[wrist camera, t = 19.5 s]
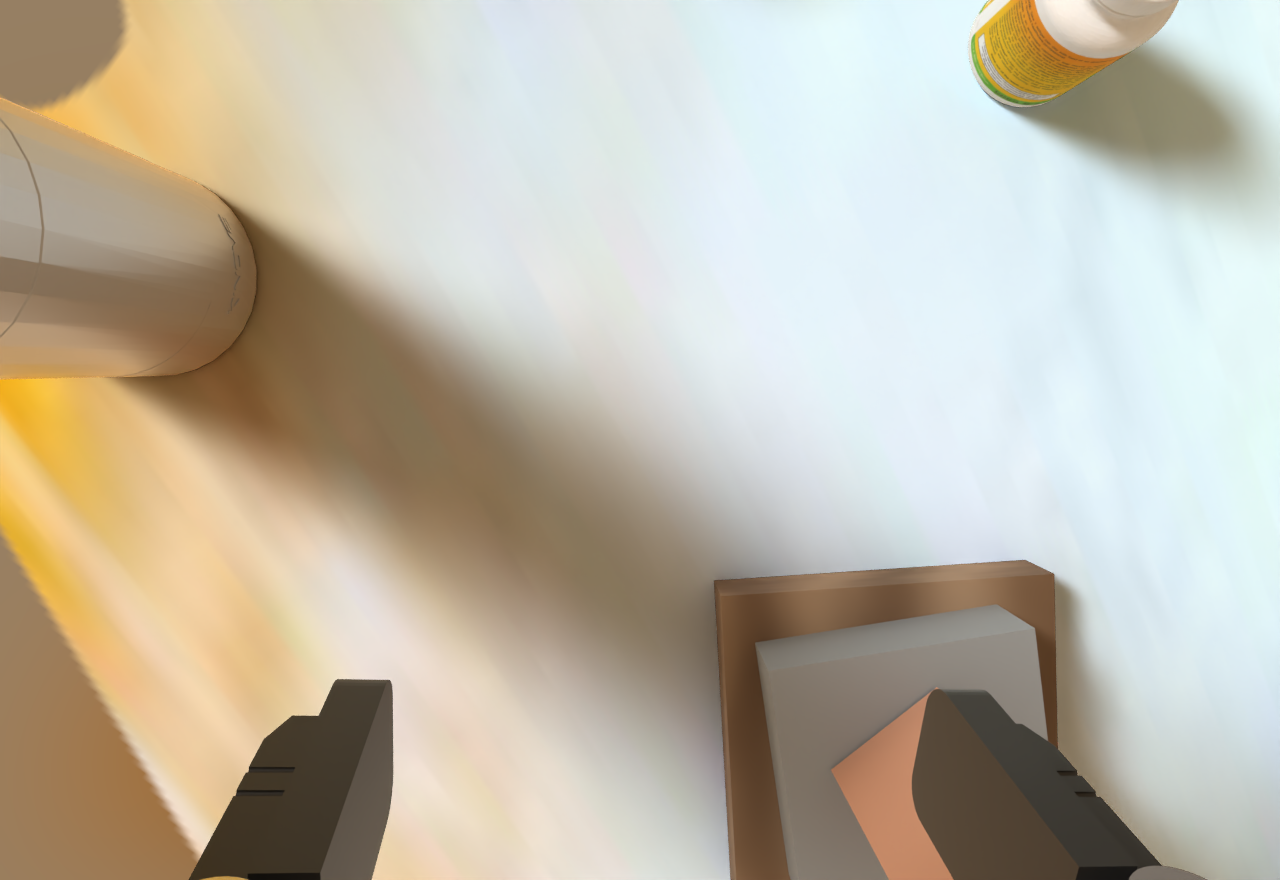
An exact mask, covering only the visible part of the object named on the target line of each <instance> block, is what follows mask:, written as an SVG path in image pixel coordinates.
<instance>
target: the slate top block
mask: <svg viewBox="0 0 1280 880" xmlns="http://www.w3.org/2000/svg"><path fill="white" fill-rule="evenodd" d="M755 647H756V654H757V661H758V667H759V674H760V681H761V688H762V695H763V701H764V708H765V715H766V722H767V729H768V736H769V742H770V749H771V756H772V763H773V770H774V776H775V783H776V790H777V797H778V804H779V811H780V817H781V824H782V831H783V838H784V845H785V851H786V858H787V865H788V872H789V876H790V879H791V880H889V879H888V877H887V875H886V873H885V871H884V869H883V867H882V866H881V864H880V862H879V860H878V858H877V856H876V854H875V852H874V850H873V849H872V847H871V845H870V843H869V841H868V839H867V837H866V835H865V833H864V832H863V830H862V828H861V826H860V824H859V822H858V820H857V818H856V816H855V815H854V813H853V811H852V809H851V807H850V805H849V803H848V801H847V799H846V798H845V796H844V794H843V792H842V790H841V788H840V786H839V784H838V782H837V780H836V779H835V777H834V775H833V773H832V771H831V769H833V768H834V767H835V766H836V765H838V764H839V763H840V762H842V761H843V760H844V759H845V758H847V757H848V756H849V755H851V754H852V753H853V752H854V751H856V750H857V749H858V748H859V747H861V746H862V745H863V744H865V743H866V742H867V741H868V740H870V739H871V738H872V737H874V736H875V735H876V734H877V733H879V732H880V731H881V730H883V729H884V728H885V727H886V726H888V725H889V724H890V723H892V722H893V721H894V720H895V719H897V718H898V717H899V716H900V715H902V714H903V713H904V712H906V711H907V710H908V709H909V708H911V707H912V706H913V705H915V704H916V703H917V702H918V701H920V700H921V699H922V698H924V697H925V696H926V695H927V694H929V693H930V692H931V691H933V690H934V689H935V688H936V687H937V688H938V689H982V690H985V691H987V692H988V693H990V694H991V695H992V697H993V698H994V699H995V700H996V701H997V702H998V704H999V705H1000V706H1001V707H1002V708H1003V709H1004V711H1005V712H1006V713H1007V714H1008V715H1009V716H1010V718H1011V719H1012V720H1013V721H1014V722H1015V723H1016V724H1023V725H1025V726H1026V727H1028V728H1029V729H1031V730H1032V731H1034V732H1035V733H1037V734H1038V735H1039V736H1041V737H1042V738H1044V739H1045V740H1047V741H1048V737H1047V728H1046V719H1045V711H1044V702H1043V693H1042V685H1041V676H1040V668H1039V659H1038V650H1037V642H1036V633H1035V628H1034V627H1032V626H1030V625H1029V624H1027V623H1026V622H1024V621H1022V620H1021V619H1019V618H1018V617H1016V616H1014V615H1013V614H1011V613H1010V612H1008V611H1007V610H1005V609H1003V608H1002V607H1000V606H999V605H997V604H995V605H989V606H983V607H976V608H970V609H964V610H958V611H951V612H945V613H939V614H932V615H926V616H920V617H913V618H907V619H901V620H894V621H888V622H882V623H875V624H869V625H863V626H857V627H850V628H844V629H838V630H831V631H825V632H819V633H812V634H806V635H800V636H794V637H787V638H781V639H775V640H768V641H762V642H756V643H755Z"/></svg>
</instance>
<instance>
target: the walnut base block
mask: <svg viewBox="0 0 1280 880" xmlns="http://www.w3.org/2000/svg"><path fill="white" fill-rule="evenodd" d="M714 590H715V608H716V626H717V644H718V662H719V680H720V698H721V716H722V734H723V752H724V770H725V788H726V806H727V824H728V842H729V860H730V878H731V880H791V879H790V876H789V872H788V865H787V858H786V851H785V845H784V838H783V831H782V824H781V817H780V811H779V804H778V797H777V790H776V783H775V776H774V770H773V763H772V756H771V749H770V742H769V736H768V729H767V722H766V715H765V708H764V701H763V695H762V688H761V681H760V674H759V667H758V661H757V654H756V647H755V643H756V642H762V641H768V640H775V639H781V638H787V637H794V636H800V635H806V634H812V633H819V632H825V631H831V630H838V629H844V628H850V627H857V626H863V625H869V624H875V623H882V622H888V621H894V620H901V619H907V618H913V617H920V616H926V615H932V614H939V613H945V612H951V611H958V610H964V609H970V608H976V607H983V606H989V605H995V604H997V605H999V606H1000V607H1002V608H1003V609H1005V610H1007V611H1008V612H1010V613H1011V614H1013V615H1014V616H1016V617H1018V618H1019V619H1021V620H1022V621H1024V622H1026V623H1027V624H1029V625H1030V626H1032V627H1034V628H1035V633H1036V642H1037V650H1038V659H1039V668H1040V676H1041V685H1042V693H1043V702H1044V711H1045V719H1046V728H1047V737H1048V742H1050V743H1051V744H1053V745H1054V746H1055V747H1056V748H1057V749H1058V745H1057V693H1056V641H1055V589H1054V574H1053V573H1051V572H1049V571H1047V570H1045V569H1043V568H1041V567H1039V566H1037V565H1035V564H1032V563H1030V562H1028V561H1026V560H1017V561H1002V562H987V563H972V564H956V565H941V566H926V567H911V568H896V569H881V570H866V571H851V572H836V573H821V574H805V575H790V576H775V577H760V578H745V579H730V580H715V581H714Z"/></svg>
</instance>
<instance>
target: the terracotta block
mask: <svg viewBox="0 0 1280 880" xmlns="http://www.w3.org/2000/svg"><path fill="white" fill-rule="evenodd" d="M935 689H938V688H937V687H936V688H935ZM935 689H934V690H935ZM931 692H932V691H931ZM931 692H930V693H931ZM930 693H929V694H927V695H926V696H925V697H924V698H922V699H921V700H920V701H918V702H917V703H916V704H915V705H913V706H912V707H911V708H909V709H908V710H907V711H906V712H904V713H903V714H902V715H900V716H899V717H898V718H897V719H895V720H894V721H893V722H892V723H890V724H889V725H888V726H886V727H885V728H884V729H883V730H881V731H880V732H879V733H877V734H876V735H875V736H874V737H872V738H871V739H870V740H868V741H867V742H866V743H865V744H863V745H862V746H861V747H859V748H858V749H857V750H856V751H854V752H853V753H852V754H851V755H849V756H848V757H847V758H845V759H844V760H843V761H842V762H840V763H839V764H838V765H836V766H835V767H834V768H833V769H831V771H832V773H833V775H834V777H835V779H836V780H837V782H838V784H839V786H840V788H841V790H842V792H843V794H844V796H845V798H846V799H847V801H848V803H849V805H850V807H851V809H852V811H853V813H854V815H855V816H856V818H857V820H858V822H859V824H860V826H861V828H862V830H863V832H864V833H865V835H866V837H867V839H868V841H869V843H870V845H871V847H872V849H873V850H874V852H875V854H876V856H877V858H878V860H879V862H880V864H881V866H882V867H883V869H884V871H885V873H886V875H887V877H888V879H889V880H954V879H953V878H952V876H951V874H950V872H949V871H948V869H947V867H946V865H945V864H944V862H943V860H942V858H941V857H940V855H939V853H938V852H937V850H936V848H935V846H934V845H933V843H932V841H931V839H930V838H929V836H928V834H927V832H926V831H925V829H924V827H923V825H922V824H921V822H920V820H919V818H918V815H917V813H916V810H915V806H914V802H913V796H912V773H913V768H914V763H915V758H916V753H917V748H918V742H919V737H920V732H921V727H922V722H923V717H924V712H925V707H926V702H927V699H928V696H929V695H930Z"/></svg>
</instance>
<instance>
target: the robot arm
mask: <svg viewBox="0 0 1280 880" xmlns="http://www.w3.org/2000/svg"><path fill="white" fill-rule="evenodd" d="M256 276H257V269H256V264H255V259H254V254H253V249H252V246H251V244H250V241H249V239H248V237H247V234H246V232H245V230H244V227H243V226H242V224H241V223H240V222H239V220H238V219H237V217H236V216H235V214H234V213H233V211H232V210H231V209H230V208H229V207H228V206H227V205H226V204H225V203H224V202H223V201H222V200H221V199H220V198H219V197H218V196H217V195H216V194H214V193H213V192H211V191H210V190H208V189H206V188H205V187H203V186H202V185H200V184H198V183H197V182H195V181H193V180H190V179H188V178H186V177H183V176H181V175H179V174H176V173H174V172H172V171H169V170H167V169H165V168H162V167H160V166H158V165H155V164H153V163H151V162H149V161H147V160H145V159H142V158H140V157H138V156H136V155H133V154H131V153H129V152H126V151H124V150H122V149H119V148H117V147H115V146H112V145H110V144H108V143H105V142H103V141H101V140H99V139H96V138H94V137H92V136H89V135H87V134H85V133H82V132H80V131H78V130H75V129H73V128H71V127H68V126H66V125H64V124H61V123H59V122H57V121H54V120H52V119H50V118H47V117H45V116H43V115H41V114H38V113H36V112H34V111H31V110H29V109H27V108H24V107H22V106H20V105H17V104H15V103H13V102H10V101H8V100H6V99H3V98H1V97H0V379H36V378H82V377H138V376H165V375H177V374H181V373H185V372H189V371H192V370H196V369H198V368H200V367H202V366H204V365H206V364H208V363H209V362H211V361H213V360H215V359H216V358H217V357H218V356H220V355H221V354H222V353H223V352H224V351H226V350H227V349H228V348H229V347H230V346H231V345H232V344H233V342H234V341H235V340H236V338H237V337H238V336H239V335H240V333H241V332H242V331H243V329H244V327H245V325H246V322H247V320H248V318H249V316H250V314H251V312H252V308H253V303H254V299H255V294H256ZM392 786H393V693H392V684H391V681H390V680H352V679H337V680H336V681H335V682H334V684H333V686H332V688H331V690H330V692H329V694H328V697H327V699H326V701H325V703H324V705H323V708H322V710H321V712H320V714H319V716H291V717H290V718H289V719H288V720H287V721H285V722H284V723H283V724H282V725H281V726H279V727H278V728H277V729H276V730H274V731H273V732H272V733H271V734H270V735H268V736H267V737H266V738H265V739H264V740H263V742H262V744H261V746H260V748H259V749H258V751H257V753H256V755H255V757H254V759H253V761H252V762H251V764H250V766H249V771H248V773H246V774H245V776H244V777H243V779H242V781H241V783H240V785H239V787H238V789H237V793H236V796H233V798H232V800H231V802H230V804H229V805H228V807H227V809H226V811H225V813H224V815H223V817H222V819H221V820H220V822H219V824H218V826H217V828H216V830H215V832H214V833H213V835H212V837H211V839H210V841H209V843H208V845H207V847H206V848H205V850H204V852H203V854H202V856H201V858H200V860H199V861H198V863H197V865H196V867H195V869H194V871H193V873H192V875H191V877H190V878H189V880H371V879H372V876H373V872H374V868H375V865H376V861H377V857H378V853H379V850H380V846H381V842H382V839H383V835H384V831H385V828H386V824H387V820H388V815H389V810H390V804H391V796H392ZM912 796H913V802H914V806H915V810H916V813H917V815H918V818H919V820H920V822H921V824H922V825H923V827H924V829H925V831H926V832H927V834H928V836H929V838H930V839H931V841H932V843H933V845H934V846H935V848H936V850H937V852H938V853H939V855H940V857H941V858H942V860H943V862H944V864H945V865H946V867H947V869H948V871H949V872H950V874H951V876H952V878H953V879H954V880H1207V879H1205V878H1202V877H1200V876H1198V875H1196V874H1193V873H1190V872H1187V871H1184V870H1181V869H1177V868H1173V867H1166V866H1162V865H1161V864H1160V863H1159V862H1158V861H1157V860H1156V859H1155V858H1154V856H1153V855H1152V854H1151V853H1150V852H1149V851H1148V850H1147V849H1146V847H1145V846H1144V845H1143V844H1142V843H1141V842H1140V841H1139V840H1138V838H1137V837H1136V836H1135V835H1134V834H1133V833H1132V832H1131V831H1130V830H1129V828H1128V827H1127V826H1126V825H1125V824H1124V823H1123V822H1122V821H1121V819H1120V818H1119V817H1118V816H1117V815H1116V814H1115V813H1114V812H1113V811H1112V809H1111V808H1110V807H1109V806H1108V805H1107V804H1106V803H1105V802H1104V800H1103V799H1102V798H1101V797H1096V794H1095V790H1094V789H1093V788H1092V787H1091V786H1090V785H1089V784H1088V783H1087V781H1086V780H1085V779H1084V778H1083V777H1082V776H1078V775H1077V770H1076V769H1075V768H1074V767H1073V766H1072V765H1071V764H1070V762H1069V761H1068V760H1067V759H1066V758H1065V757H1064V756H1063V755H1062V753H1061V752H1060V751H1059V750H1058V749H1057V748H1056V747H1055V746H1054V745H1053V744H1051V743H1050V742H1048V741H1047V740H1045V739H1044V738H1042V737H1041V736H1039V735H1038V734H1037V733H1035V732H1034V731H1032V730H1031V729H1029V728H1028V727H1026V726H1025V725H1023V724H1016V723H1015V722H1014V721H1013V720H1012V719H1011V718H1010V716H1009V715H1008V714H1007V713H1006V712H1005V711H1004V709H1003V708H1002V707H1001V706H1000V705H999V704H998V702H997V701H996V700H995V699H994V698H993V697H992V695H991V694H990V693H988V692H987V691H985V690H982V689H935V690H933V691H932V692H931V693H930V695H929V696H928V699H927V702H926V707H925V712H924V717H923V722H922V727H921V732H920V737H919V742H918V748H917V753H916V758H915V763H914V768H913V773H912Z"/></svg>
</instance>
